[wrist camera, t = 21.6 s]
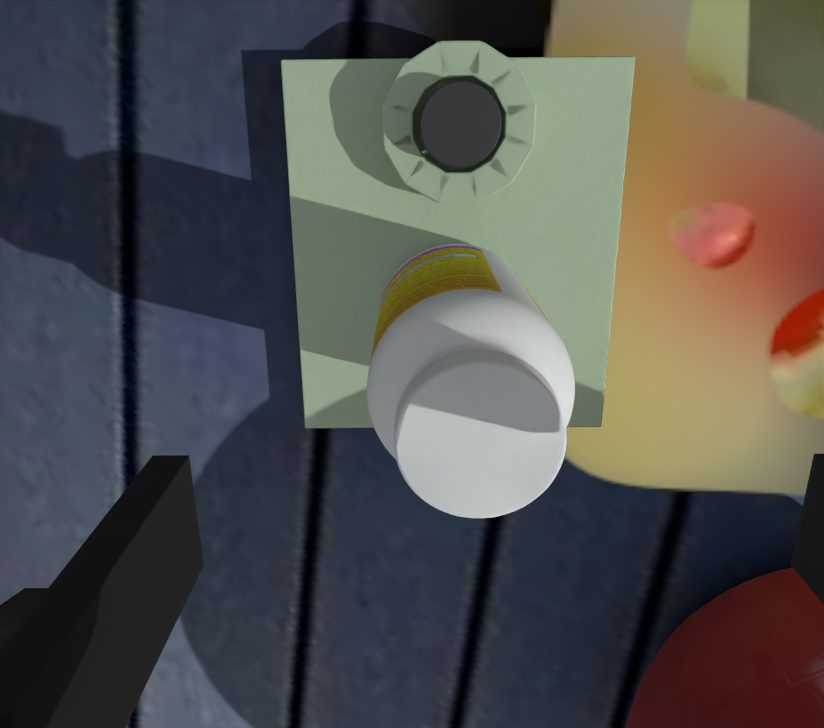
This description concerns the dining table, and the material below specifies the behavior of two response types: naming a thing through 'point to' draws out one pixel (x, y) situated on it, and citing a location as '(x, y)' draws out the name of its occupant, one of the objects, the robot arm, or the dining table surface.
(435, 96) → the button
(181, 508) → the robot arm
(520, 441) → the supplement bottle
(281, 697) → the dining table surface
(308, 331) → the scale
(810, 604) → the mixing bowl
